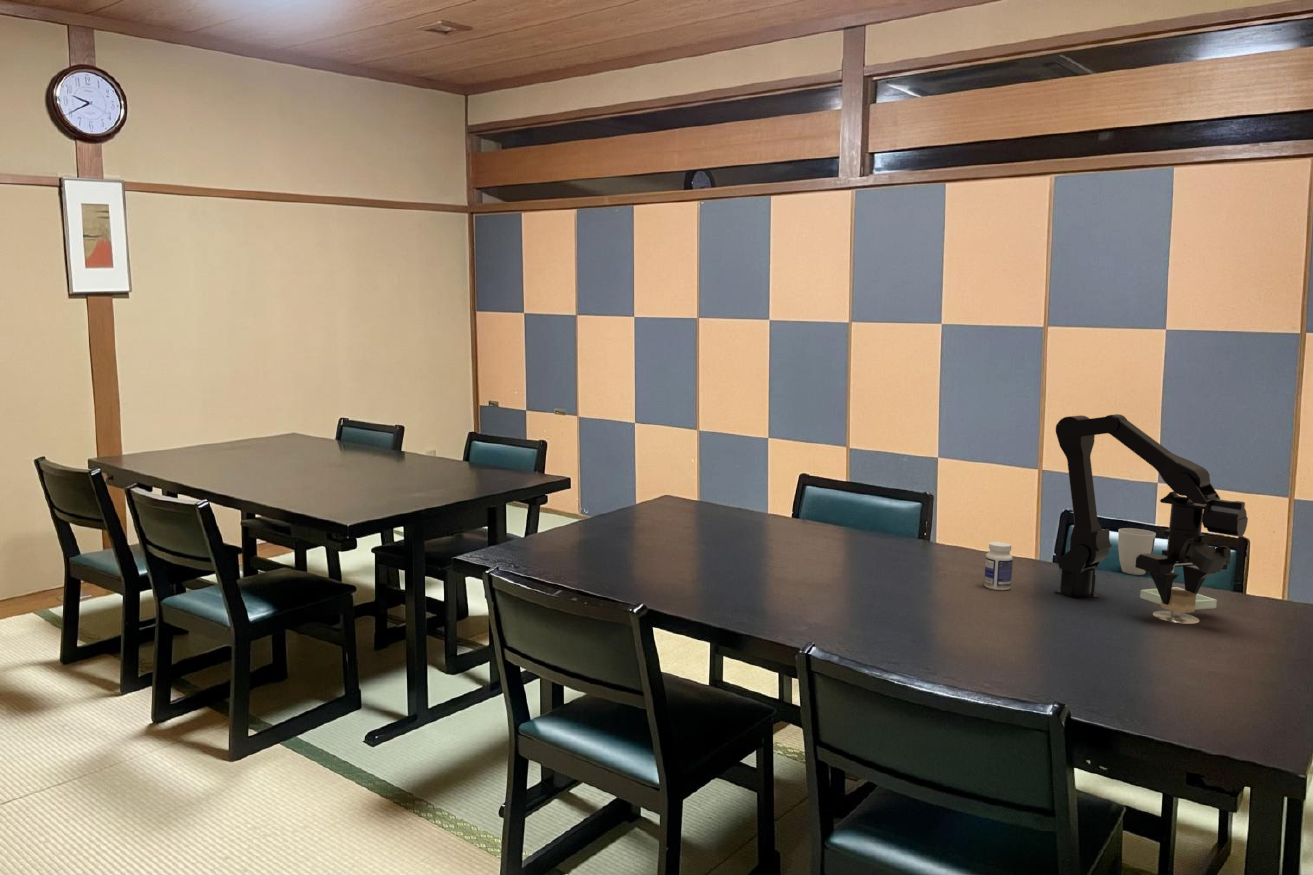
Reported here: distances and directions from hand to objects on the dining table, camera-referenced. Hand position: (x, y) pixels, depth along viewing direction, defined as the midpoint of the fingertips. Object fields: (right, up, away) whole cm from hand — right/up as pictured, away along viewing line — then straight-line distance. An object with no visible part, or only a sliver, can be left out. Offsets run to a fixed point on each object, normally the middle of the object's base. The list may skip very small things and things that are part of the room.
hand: (1177, 603), depth 199 cm
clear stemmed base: (0, -3, 0) cm, 3 cm away
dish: (+6, -2, +11) cm, 13 cm away
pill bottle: (-30, 0, +21) cm, 36 cm away
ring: (0, -1, 0) cm, 1 cm away
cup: (+10, +1, +39) cm, 40 cm away
